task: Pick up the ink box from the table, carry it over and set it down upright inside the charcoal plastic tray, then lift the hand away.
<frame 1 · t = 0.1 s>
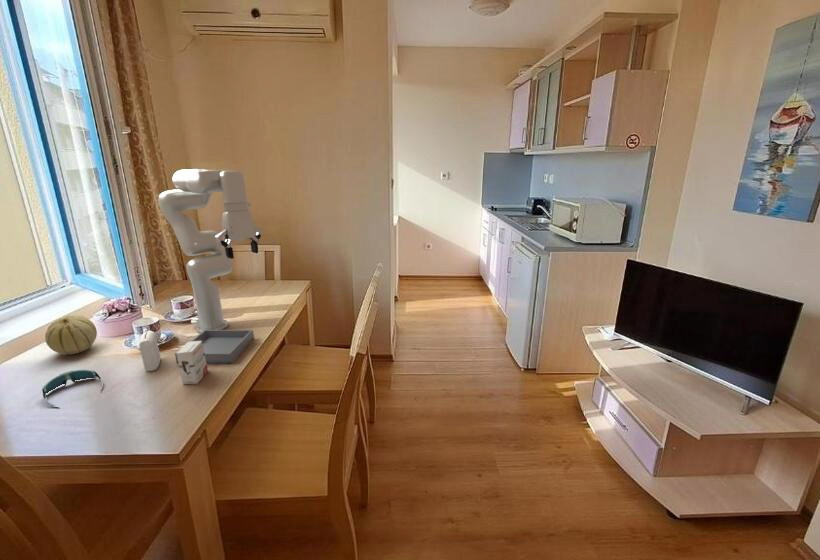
hand: (243, 255, 139), 37 cm above the table, tool pointing down, fingers open, 9 cm apart
cantaloupe: (77, 352, 147), on the table
tray: (218, 350, 148), on the table
sunglasses: (75, 393, 122), on the table
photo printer: (153, 365, 138), on the table
ink box: (195, 377, 130), on the table
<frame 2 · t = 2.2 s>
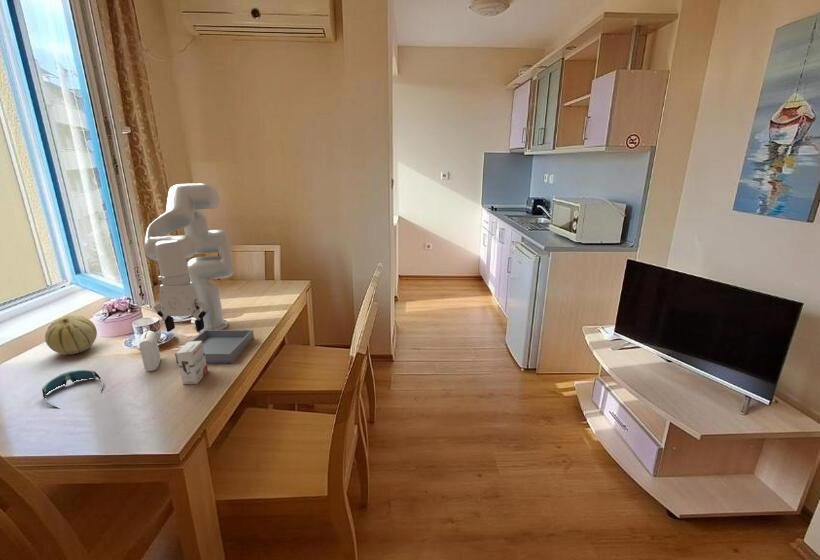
hand: (185, 330, 124), 18 cm above the table, tool pointing down, fingers open, 9 cm apart
nothing on the table moved.
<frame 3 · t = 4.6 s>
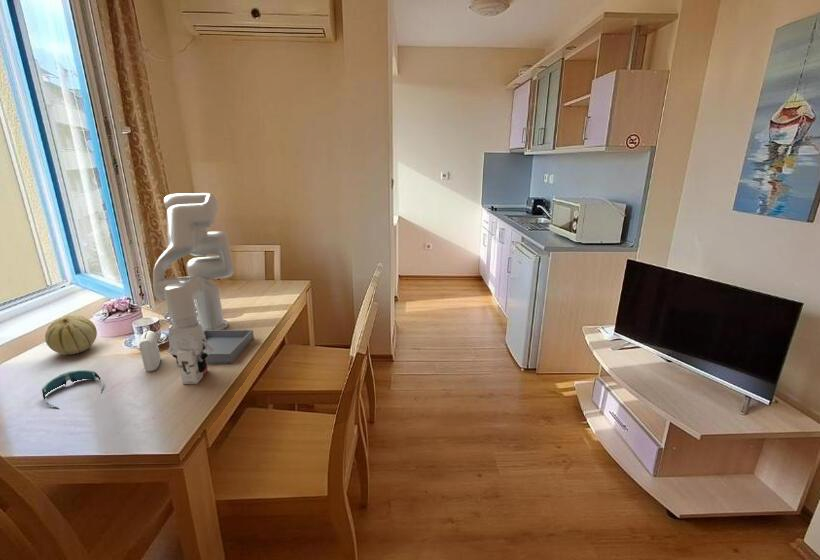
hand: (194, 369, 129), 3 cm above the table, tool pointing down, fingers closed on ink box, 5 cm apart
ink box: (195, 377, 130), on the table, touching gripper
everything else where it was.
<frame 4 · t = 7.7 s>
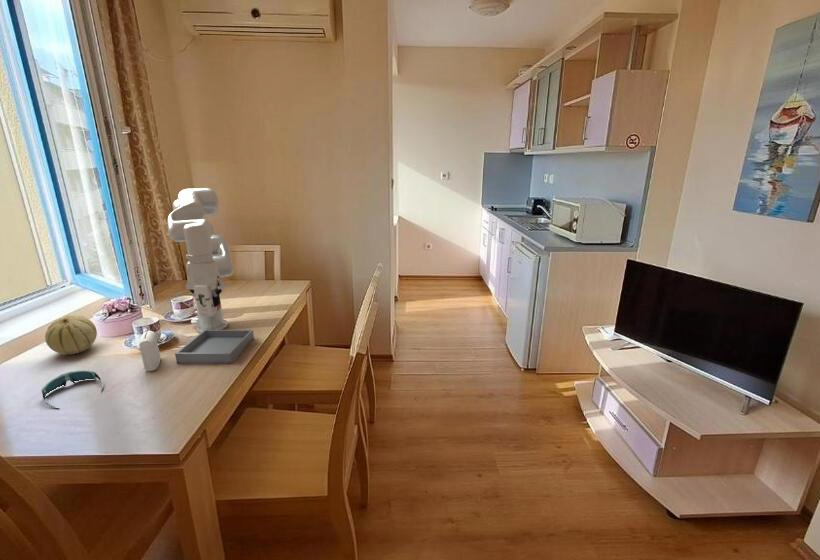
hand: (209, 304, 142), 19 cm above the table, tool pointing down, fingers closed on ink box, 5 cm apart
ink box: (210, 312, 143), point 16 cm above the table, touching gripper
everything else where it was.
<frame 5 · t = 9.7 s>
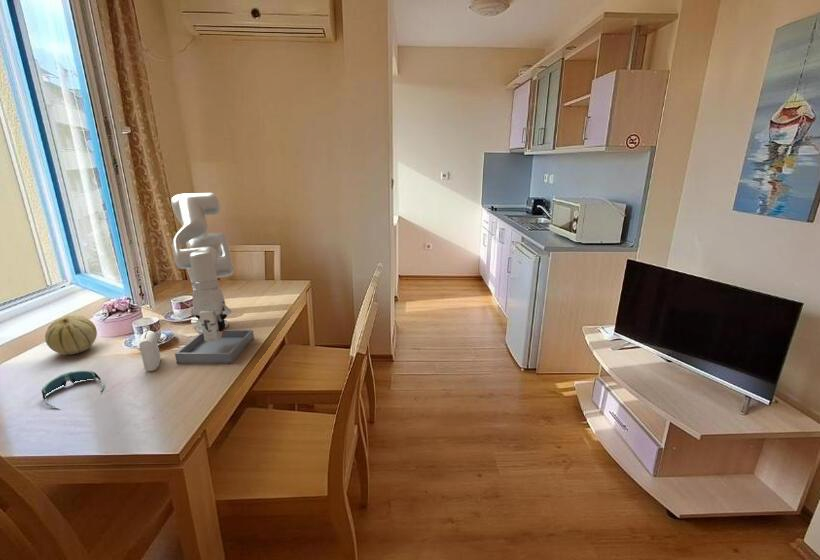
hand: (214, 329, 145), 9 cm above the table, tool pointing down, fingers closed on ink box, 5 cm apart
ink box: (215, 337, 146), point 6 cm above the table, touching gripper
everything else where it was.
when the fingers open (5 cm above the table, at t = 11.3 s): ink box drops 1 cm, resting on tray.
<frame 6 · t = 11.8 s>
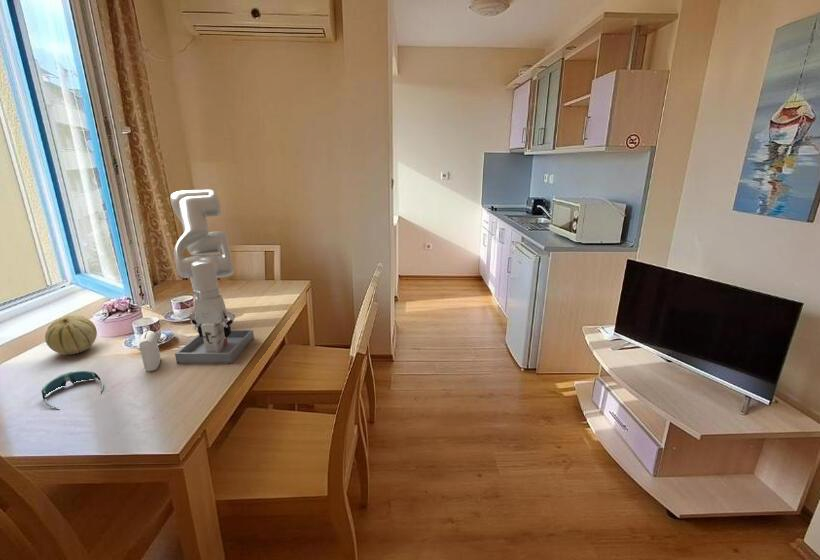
hand: (215, 335, 146), 6 cm above the table, tool pointing down, fingers open, 9 cm apart
ink box: (217, 348, 148), point 1 cm above the table, touching tray
everything else where it was.
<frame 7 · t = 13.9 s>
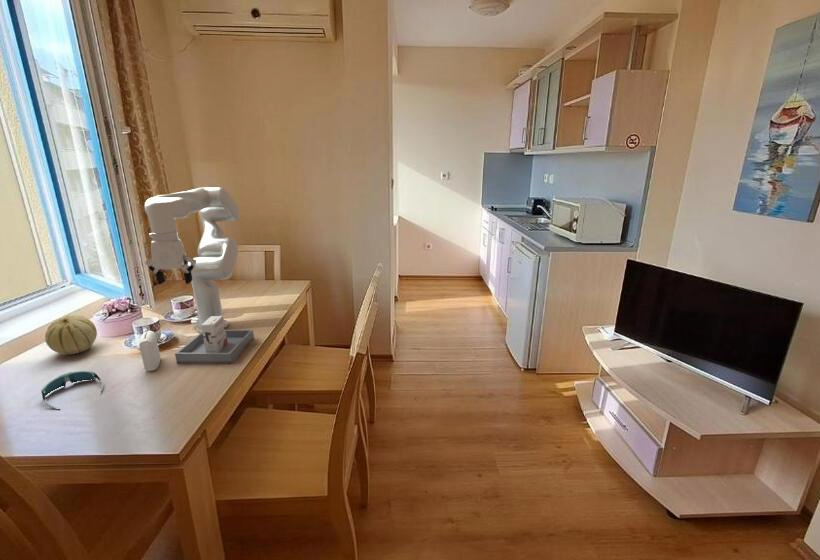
hand: (175, 282, 139), 28 cm above the table, tool pointing down, fingers open, 9 cm apart
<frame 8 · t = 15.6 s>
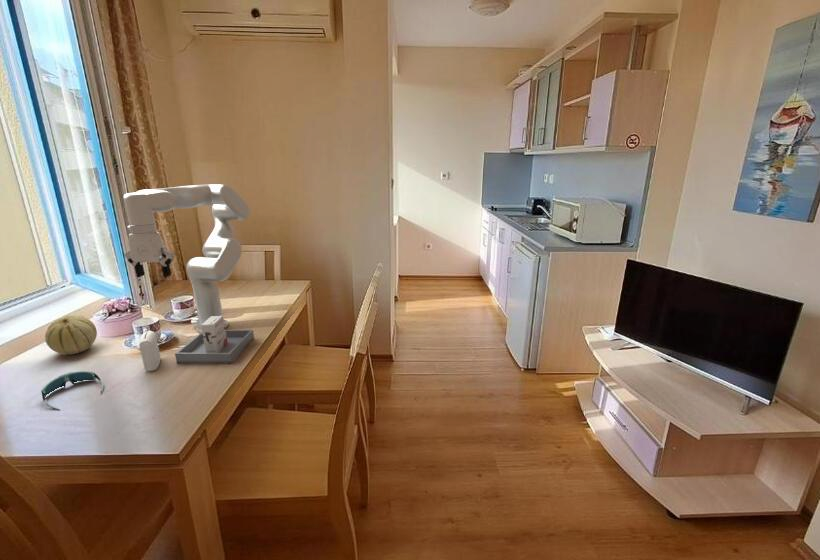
hand: (154, 276, 138), 30 cm above the table, tool pointing down, fingers open, 9 cm apart
at the end: ink box inside the target area on the tray (0.3 cm from its centre), point 0.8 cm above the tray's base; ink box tilted 0°; the gripper is holding nothing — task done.
